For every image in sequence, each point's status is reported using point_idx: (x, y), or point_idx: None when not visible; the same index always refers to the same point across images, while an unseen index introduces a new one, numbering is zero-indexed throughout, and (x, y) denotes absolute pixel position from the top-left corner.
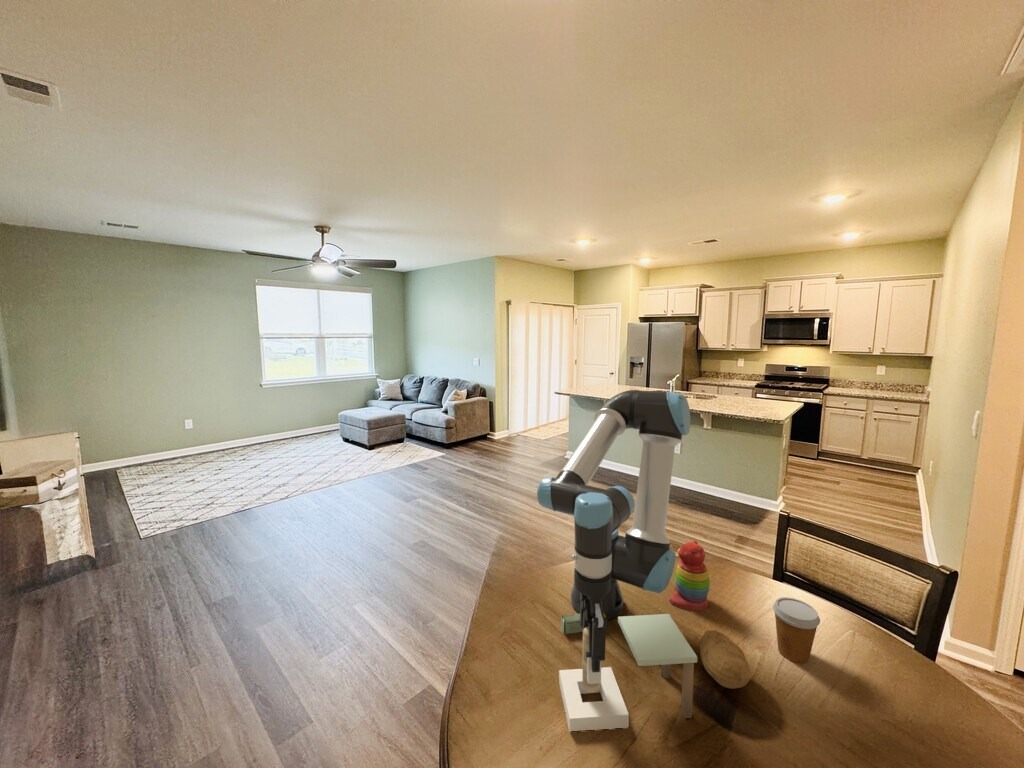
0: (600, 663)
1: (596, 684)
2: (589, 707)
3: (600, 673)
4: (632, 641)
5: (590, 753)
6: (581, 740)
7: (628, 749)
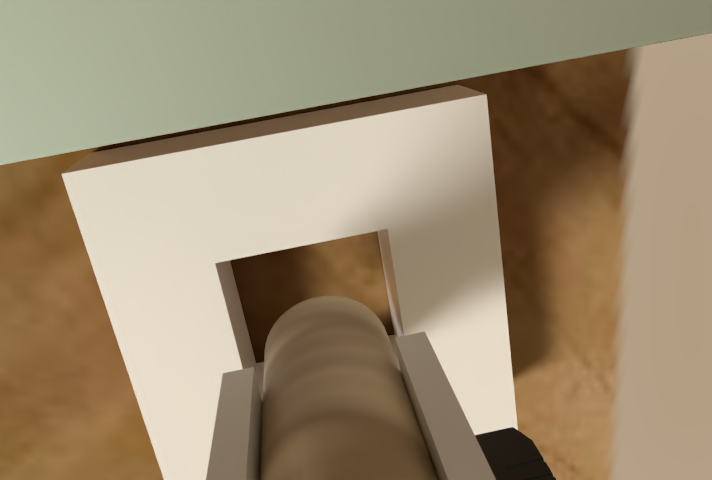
0: (479, 451)
1: (386, 343)
2: (444, 338)
3: (449, 384)
4: (264, 52)
5: (593, 298)
6: (530, 338)
7: (580, 106)
